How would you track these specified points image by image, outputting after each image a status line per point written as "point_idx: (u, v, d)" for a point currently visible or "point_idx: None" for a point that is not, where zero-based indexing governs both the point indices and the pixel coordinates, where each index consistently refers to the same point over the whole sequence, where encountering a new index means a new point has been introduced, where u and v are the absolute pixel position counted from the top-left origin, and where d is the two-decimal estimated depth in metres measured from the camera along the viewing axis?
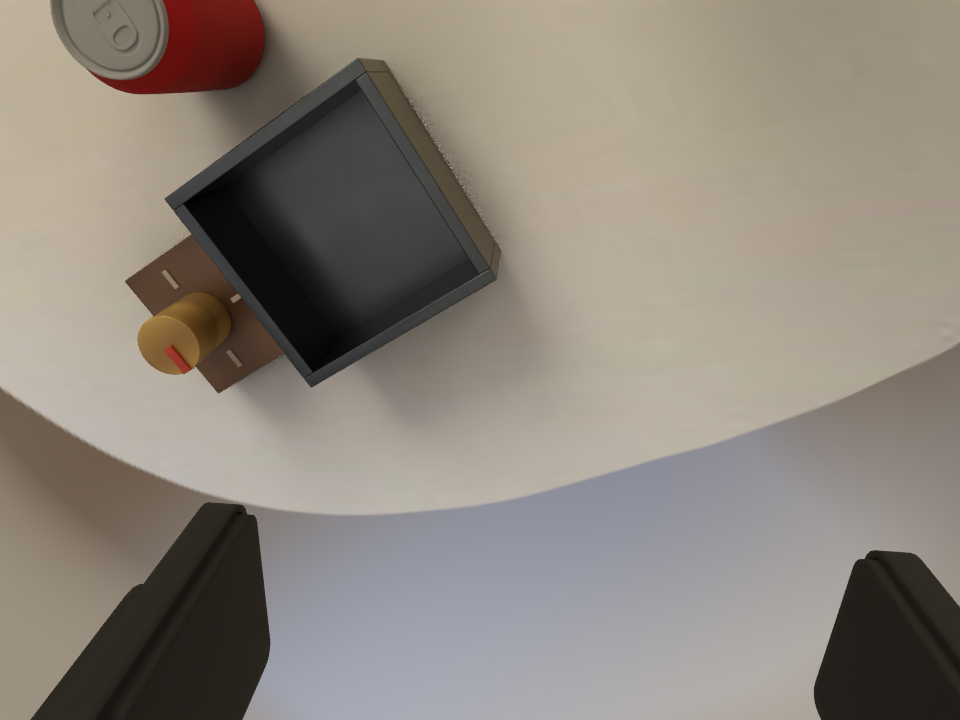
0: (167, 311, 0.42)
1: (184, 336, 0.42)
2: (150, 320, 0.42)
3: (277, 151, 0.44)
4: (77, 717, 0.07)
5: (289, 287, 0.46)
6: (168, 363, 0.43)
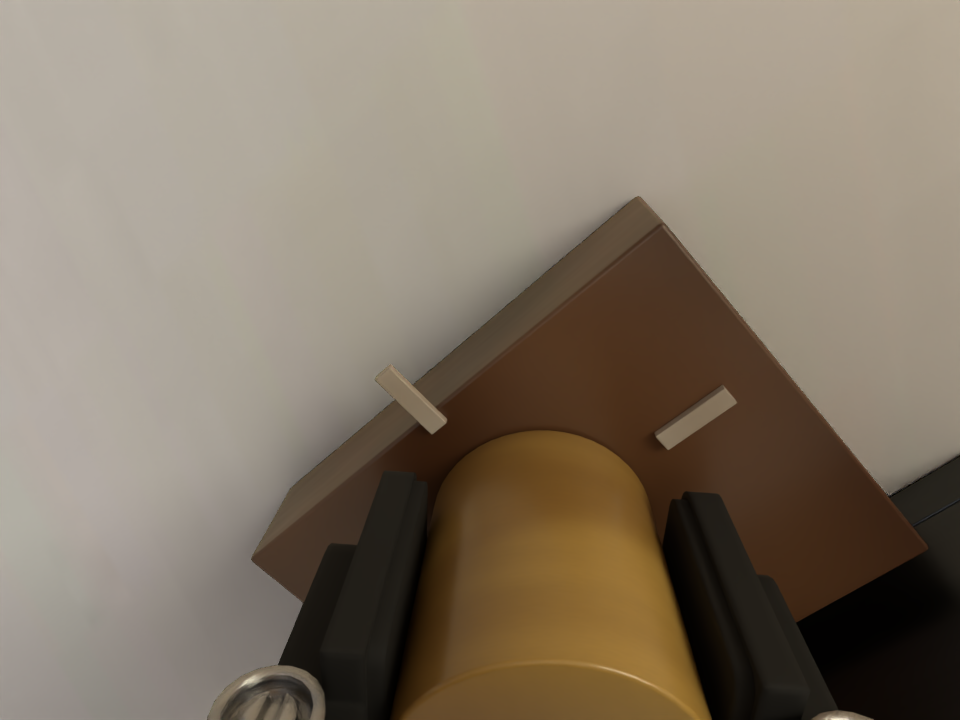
0: (704, 695, 0.08)
1: None
2: None
3: None
4: (352, 642, 0.08)
5: None
6: None
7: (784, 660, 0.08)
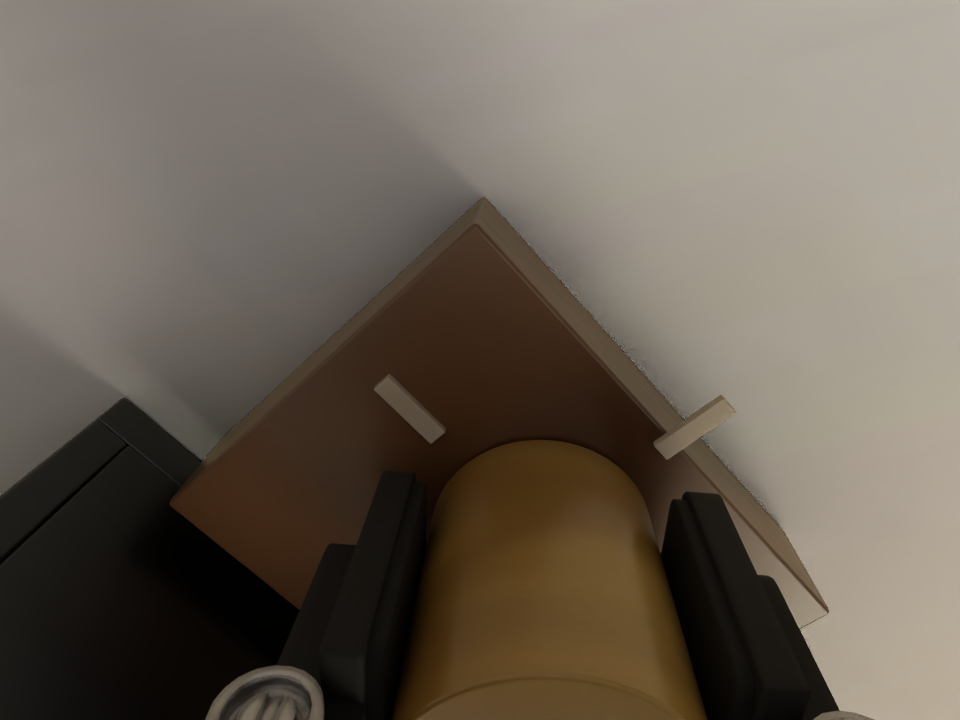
0: (703, 709, 0.08)
1: None
2: None
3: None
4: (351, 643, 0.08)
5: None
6: None
7: (785, 660, 0.08)
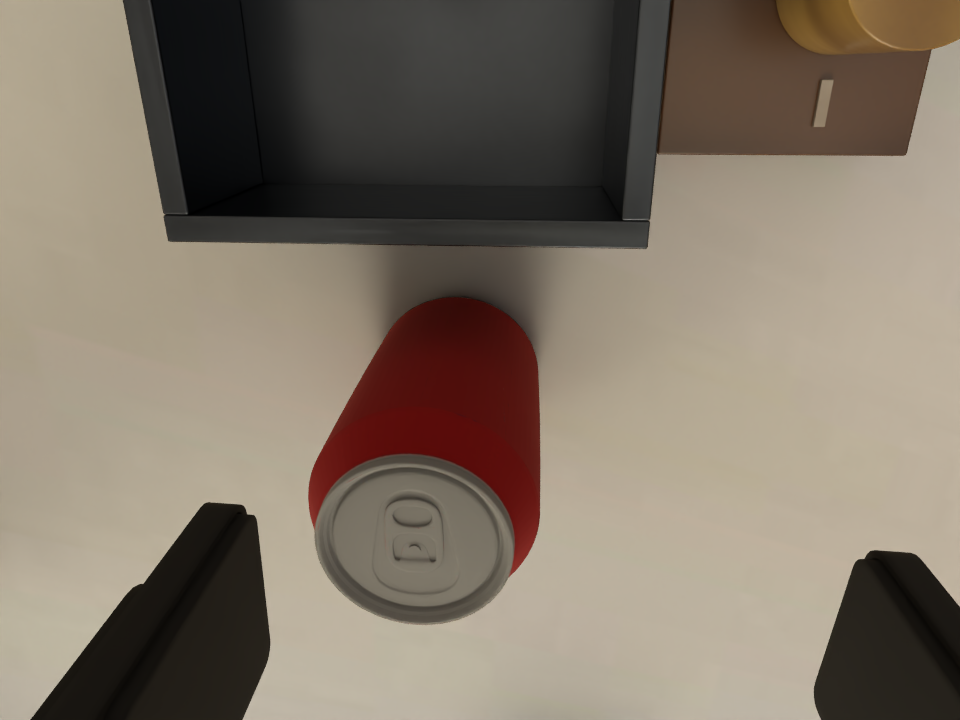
0: None
1: (918, 20, 0.16)
2: None
3: (478, 183, 0.25)
4: (77, 716, 0.07)
5: None
6: None
7: None
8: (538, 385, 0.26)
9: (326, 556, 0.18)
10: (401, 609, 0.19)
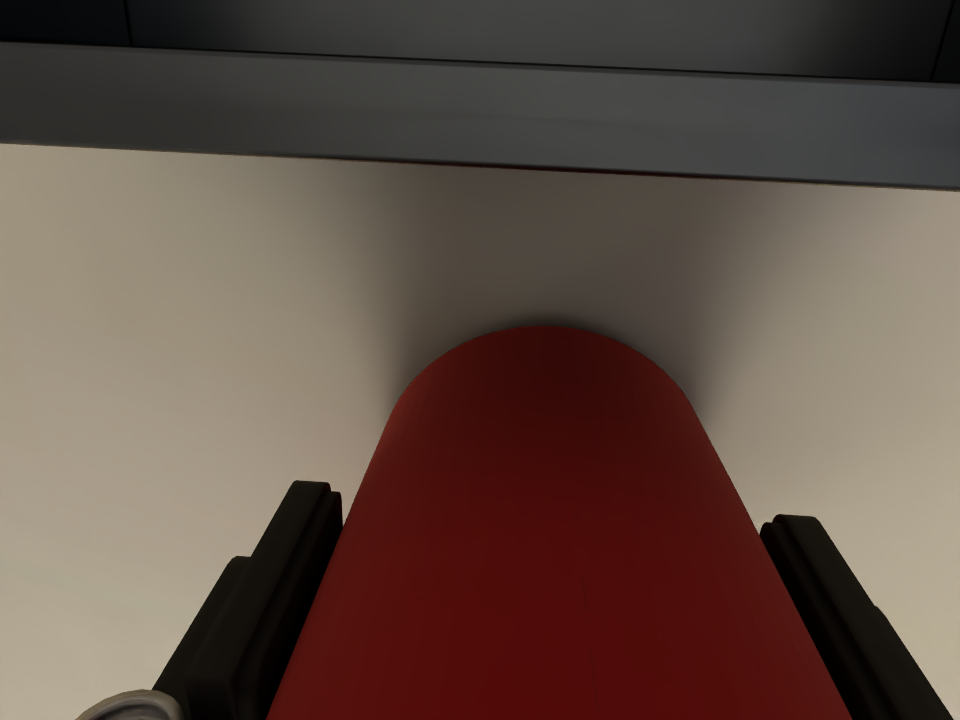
0: None
1: None
2: None
3: None
4: (219, 665, 0.07)
5: None
6: None
7: (926, 704, 0.07)
8: None
9: None
10: None
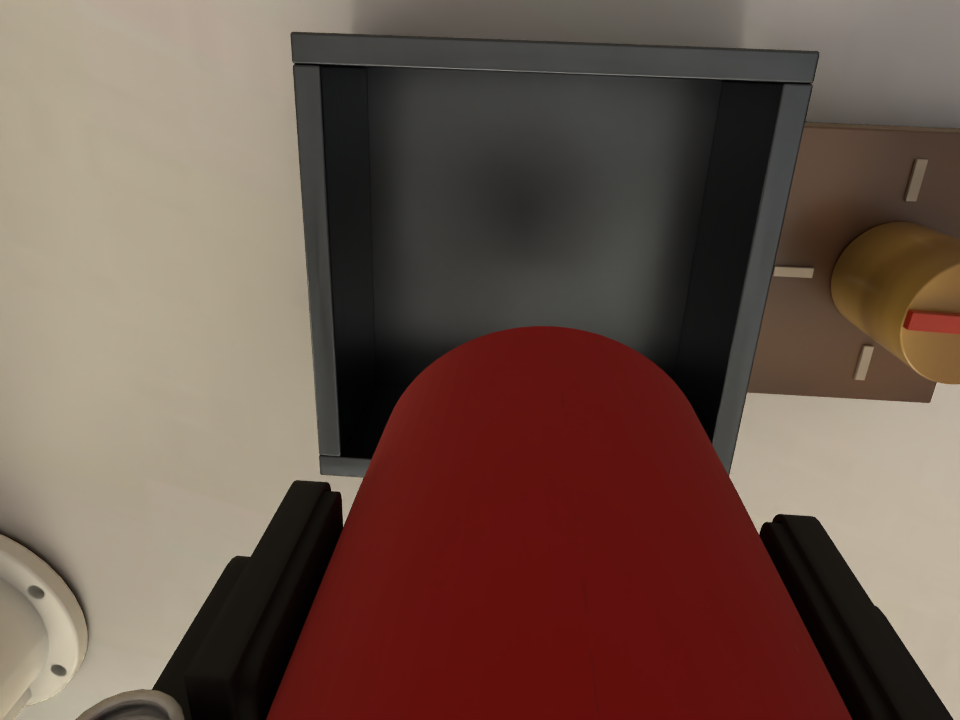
0: None
1: (955, 365, 0.20)
2: None
3: None
4: (220, 666, 0.07)
5: (708, 228, 0.24)
6: (950, 294, 0.19)
7: (926, 705, 0.07)
8: None
9: None
10: None
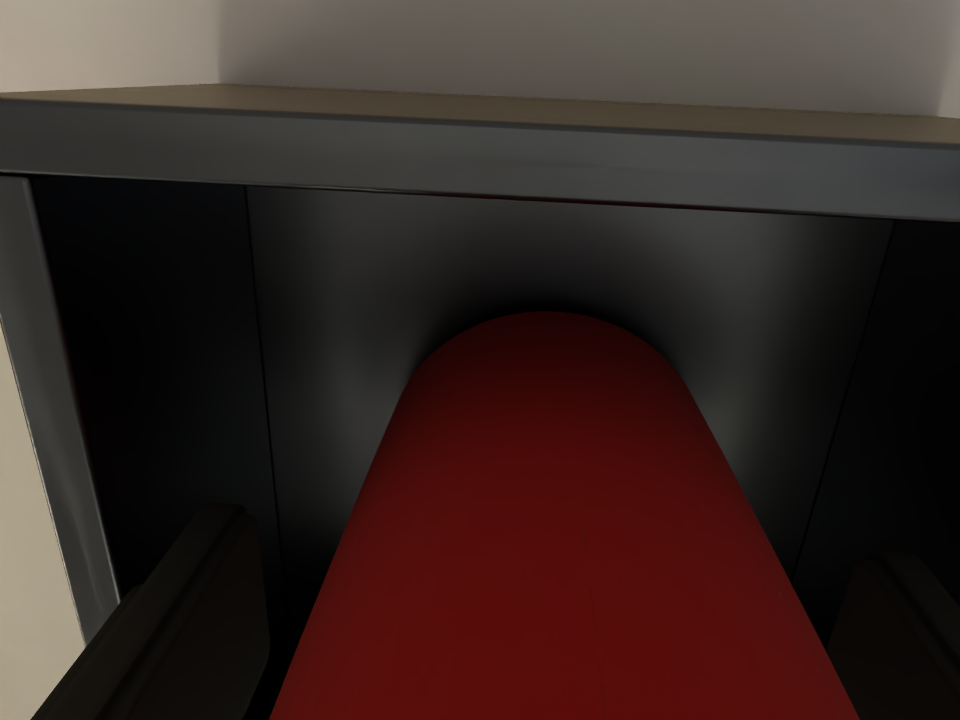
0: None
1: None
2: None
3: None
4: (77, 717, 0.07)
5: (870, 432, 0.13)
6: None
7: None
8: None
9: None
10: None
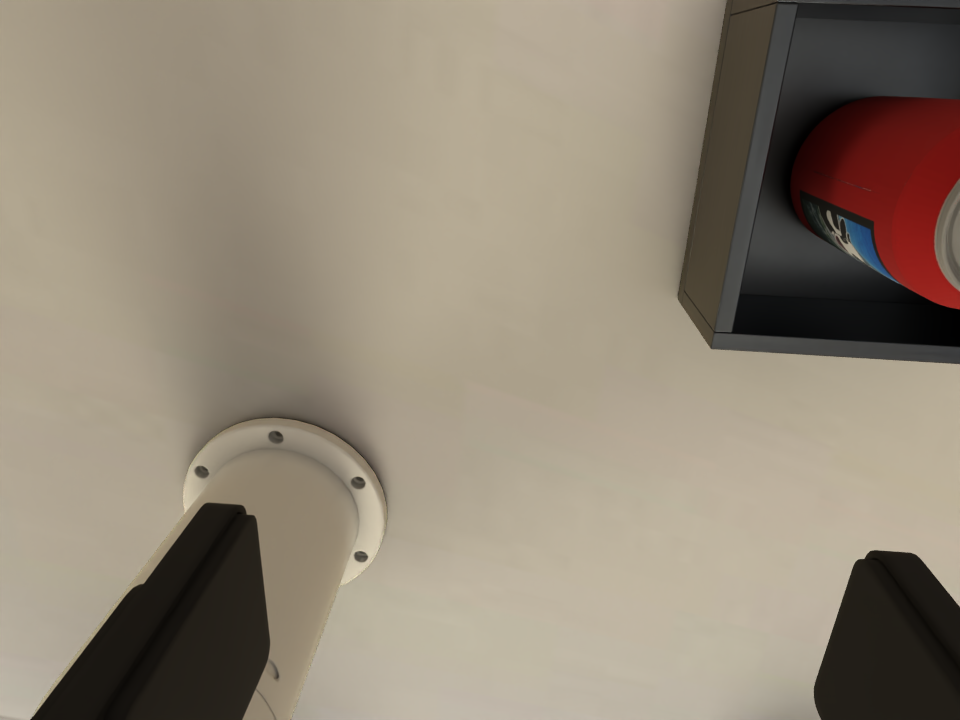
0: None
1: None
2: None
3: (861, 299, 0.34)
4: (77, 716, 0.07)
5: None
6: None
7: None
8: None
9: (945, 235, 0.21)
10: None
